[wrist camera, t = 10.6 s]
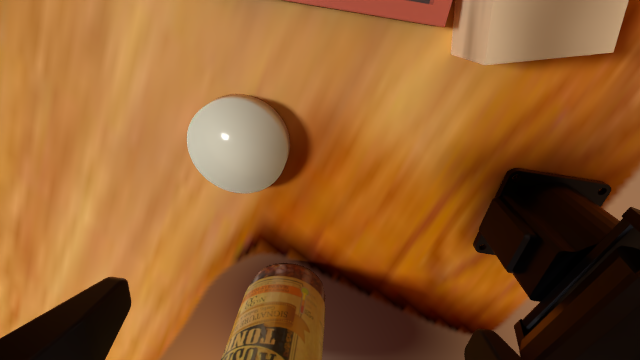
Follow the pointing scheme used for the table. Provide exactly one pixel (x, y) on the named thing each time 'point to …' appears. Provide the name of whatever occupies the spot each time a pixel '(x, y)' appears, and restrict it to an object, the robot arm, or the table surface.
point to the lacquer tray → (392, 9)
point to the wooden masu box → (534, 29)
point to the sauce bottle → (280, 317)
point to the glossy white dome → (238, 143)
